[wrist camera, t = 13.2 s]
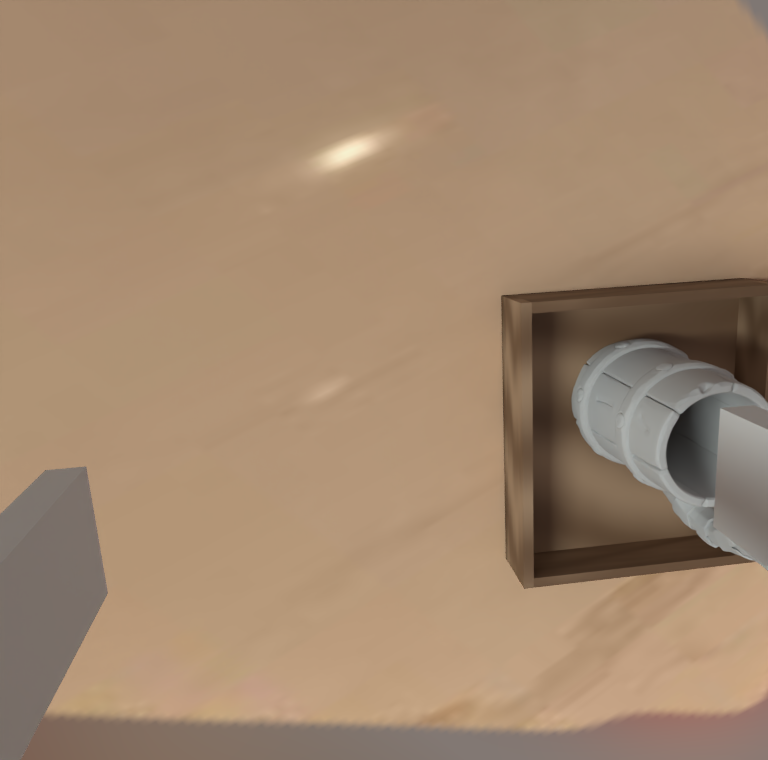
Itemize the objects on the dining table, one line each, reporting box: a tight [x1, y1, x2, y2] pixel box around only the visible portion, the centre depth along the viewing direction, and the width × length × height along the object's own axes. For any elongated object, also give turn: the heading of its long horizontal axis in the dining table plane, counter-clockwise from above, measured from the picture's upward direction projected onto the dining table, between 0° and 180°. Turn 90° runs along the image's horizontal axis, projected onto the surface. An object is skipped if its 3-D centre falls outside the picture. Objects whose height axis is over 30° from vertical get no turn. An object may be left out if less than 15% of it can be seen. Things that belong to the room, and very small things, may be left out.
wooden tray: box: [501, 278, 768, 589], centre depth 42 cm, size 17×15×4 cm
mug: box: [571, 339, 768, 570], centre depth 37 cm, size 8×12×12 cm, turn 26°
